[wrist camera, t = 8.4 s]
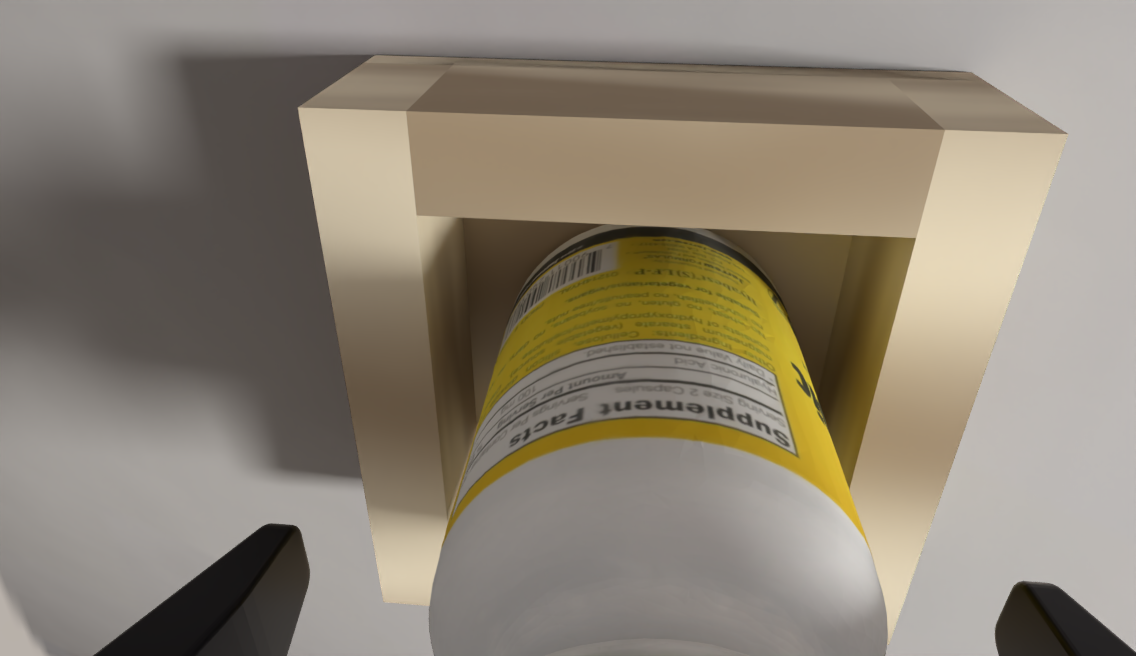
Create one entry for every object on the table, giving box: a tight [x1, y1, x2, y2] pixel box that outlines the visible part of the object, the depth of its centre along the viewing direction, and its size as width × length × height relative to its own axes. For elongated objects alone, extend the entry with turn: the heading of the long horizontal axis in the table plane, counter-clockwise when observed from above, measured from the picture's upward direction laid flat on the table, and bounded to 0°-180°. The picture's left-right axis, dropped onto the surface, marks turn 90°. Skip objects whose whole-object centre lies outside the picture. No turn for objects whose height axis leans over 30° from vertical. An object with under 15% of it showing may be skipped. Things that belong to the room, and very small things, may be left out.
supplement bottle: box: [429, 224, 888, 656], centre depth 11 cm, size 5×5×10 cm
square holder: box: [298, 55, 1068, 645], centre depth 14 cm, size 10×10×3 cm
